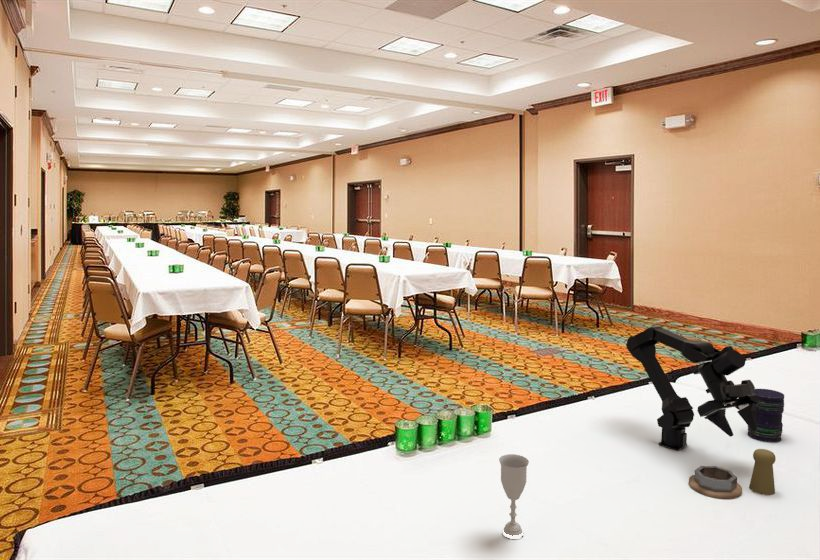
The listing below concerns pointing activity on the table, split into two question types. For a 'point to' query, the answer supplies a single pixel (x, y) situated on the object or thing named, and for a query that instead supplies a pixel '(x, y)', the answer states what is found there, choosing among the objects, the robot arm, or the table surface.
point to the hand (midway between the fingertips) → (743, 433)
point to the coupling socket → (715, 482)
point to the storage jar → (768, 416)
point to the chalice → (513, 485)
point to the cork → (763, 472)
